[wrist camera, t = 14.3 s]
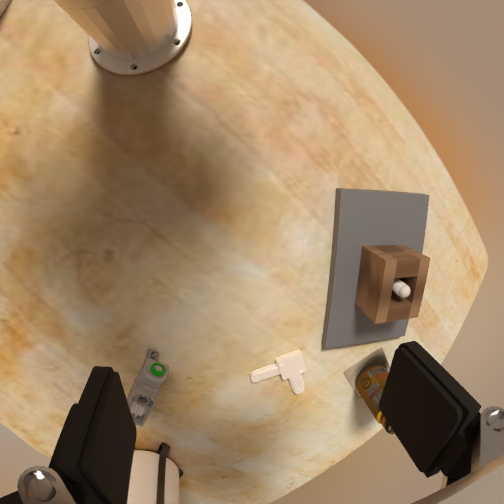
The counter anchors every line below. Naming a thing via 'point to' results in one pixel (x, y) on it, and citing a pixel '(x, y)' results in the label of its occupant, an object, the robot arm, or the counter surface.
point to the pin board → (349, 254)
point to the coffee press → (154, 478)
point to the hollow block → (390, 282)
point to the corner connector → (284, 370)
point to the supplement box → (3, 5)
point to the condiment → (371, 383)
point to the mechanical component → (146, 387)
